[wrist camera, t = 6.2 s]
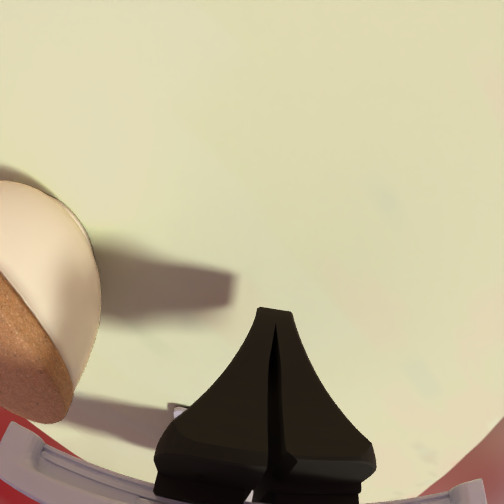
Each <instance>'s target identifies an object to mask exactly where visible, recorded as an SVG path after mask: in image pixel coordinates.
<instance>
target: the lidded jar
mask: <svg viewBox="0 0 504 504" xmlns="http://www.w3.org/2000/svg"><path fill="white" fill-rule="evenodd" d="M101 302H102V299H101V286H100V278H99V273H98V268H97V265H96V262H95V259H94V254H93V249H92V245H91V242H90V239H89V237H88V235H87V233H86V231H85V229H84V227H83V226H82V224H81V222H80V221H79V220H78V218H77V217H76V216H75V214H74V213H73V212H72V211H71V210H70V209H69V208H68V207H67V206H66V205H64V204H63V203H62V202H60V201H59V200H57V199H56V198H54V197H52V196H49V195H47V194H44V193H43V192H41V191H40V190H38V189H35V188H33V187H31V186H29V185H25V184H21V183H17V182H13V181H0V406H1V407H3V408H4V409H6V410H8V411H10V412H12V413H14V414H16V415H18V416H20V417H23V418H25V419H28V420H31V421H35V422H39V423H44V424H53V423H56V422H59V421H61V420H62V419H63V418H64V417H65V415H66V413H67V411H68V409H69V407H70V405H71V402H72V399H73V395H74V393H73V392H74V390H75V388H76V386H77V384H78V383H79V381H80V378H81V376H82V374H83V372H84V370H85V367H86V365H87V362H88V360H89V357H90V354H91V351H92V348H93V345H94V343H95V340H96V336H97V332H98V328H99V323H100V313H101Z"/></svg>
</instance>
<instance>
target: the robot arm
mask: <svg viewBox="0 0 504 504" xmlns="http://www.w3.org/2000/svg"><path fill="white" fill-rule="evenodd" d="M173 415H174V420H173V421H172V422H171V423H170V425H169V426H168V427H167V429H166V430H165V432H164V433H163V435H162V437H161V438H160V440H159V442H158V445H157V448H156V451H155V455H154V463H155V465H156V468H157V471H158V474H157V477H156V481H155V484H153V483H149V482H145V481H142V480H138V479H135V478H132V477H129V476H125V475H122V474H119V473H116V472H113V471H110V470H107V469H105V468H102V467H99V466H96V465H94V464H91V463H89V462H86V461H83V460H81V459H79V458H76V457H73V456H71V455H69V454H67V453H64V452H62V451H60V450H57V449H55V448H53V447H51V446H49V445H47V444H45V443H44V441H43V440H42V439H41V438H40V437H39V436H38V435H37V434H35V433H34V432H32V431H30V430H28V429H26V428H24V427H22V426H21V425H19V424H17V423H15V422H10V424H9V426H8V428H7V430H6V432H5V434H4V436H3V438H2V440H1V442H0V479H2V480H3V481H4V482H6V483H7V484H9V485H10V486H12V487H13V488H15V489H16V490H18V491H20V492H21V493H23V494H25V495H26V496H28V497H30V498H32V499H33V500H35V501H37V502H39V503H41V504H359V498H358V493H360V492H361V482H363V481H364V480H366V479H367V478H368V477H370V476H371V475H372V474H373V473H374V472H375V471H376V458H375V454H374V450H373V446H372V443H371V442H370V441H369V440H368V439H367V438H366V437H364V436H363V435H362V434H361V433H360V432H359V431H358V430H357V429H356V428H355V427H354V426H353V424H352V423H351V422H350V421H349V420H348V419H347V418H346V416H345V415H344V414H343V413H342V411H341V410H340V409H339V408H338V406H337V405H336V404H335V402H334V401H333V400H332V398H331V397H330V395H329V394H328V392H327V391H326V389H325V388H324V386H323V384H322V383H321V381H320V379H319V378H318V376H317V374H316V372H315V370H314V368H313V366H312V364H311V362H310V360H309V358H308V356H307V354H306V351H305V349H304V347H303V344H302V342H301V339H300V337H299V334H298V331H297V328H296V325H295V322H294V318H293V314H292V313H291V312H289V311H283V310H276V309H270V308H264V307H259V308H257V312H256V316H255V319H254V322H253V325H252V327H251V329H250V331H249V333H248V335H247V337H246V339H245V341H244V343H243V344H242V346H241V348H240V349H239V351H238V352H237V354H236V355H235V357H234V358H233V360H232V361H231V363H230V364H229V365H228V367H227V368H226V369H225V371H224V372H223V373H222V374H221V376H220V377H219V378H218V379H217V380H216V381H215V382H214V384H213V385H212V386H211V387H210V388H209V389H208V390H207V391H206V392H205V393H204V394H203V395H202V396H201V397H200V398H199V399H198V400H197V401H196V402H195V403H193V404H192V405H191V406H190V407H189V408H188V409H187V408H183V407H175V408H174V411H173ZM367 504H487V501H486V496H485V491H484V486H483V481H482V479H476V480H473V481H469V482H465V483H462V484H460V485H457V486H455V487H454V488H452V489H451V490H450V491H447V492H442V493H437V494H432V495H427V496H422V497H416V498H409V499H403V500H395V501H387V502H378V503H367Z"/></svg>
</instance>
